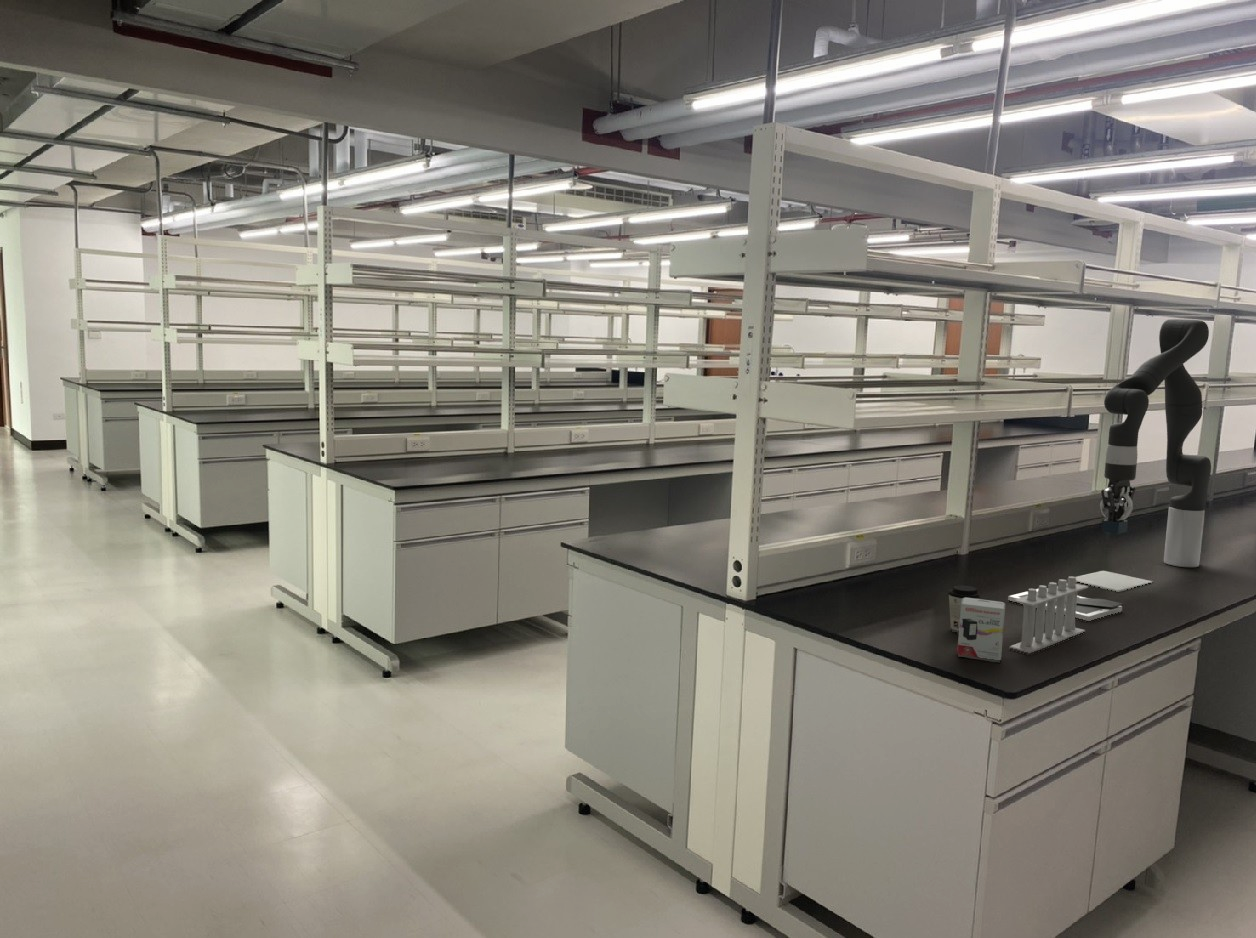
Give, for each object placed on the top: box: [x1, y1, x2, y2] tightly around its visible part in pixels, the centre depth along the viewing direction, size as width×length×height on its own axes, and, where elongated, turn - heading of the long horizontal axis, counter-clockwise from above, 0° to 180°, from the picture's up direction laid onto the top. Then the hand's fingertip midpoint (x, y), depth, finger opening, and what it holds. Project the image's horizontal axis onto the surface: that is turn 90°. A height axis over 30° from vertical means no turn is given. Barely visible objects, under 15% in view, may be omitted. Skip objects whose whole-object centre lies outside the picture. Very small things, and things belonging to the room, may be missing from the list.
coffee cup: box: [947, 584, 981, 631], centre depth 204 cm, size 7×7×10 cm
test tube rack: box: [1009, 576, 1089, 653], centre depth 198 cm, size 25×4×13 cm, turn 128°
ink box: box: [956, 598, 1006, 661], centre depth 187 cm, size 9×5×12 cm, turn 66°
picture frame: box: [1007, 588, 1123, 622], centre depth 226 cm, size 16×3×21 cm
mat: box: [1075, 570, 1154, 593], centre depth 251 cm, size 18×14×1 cm
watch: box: [1099, 494, 1134, 535], centre depth 248 cm, size 6×8×11 cm
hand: (1115, 523), depth 248 cm, fingers closed on watch, 3 cm apart
